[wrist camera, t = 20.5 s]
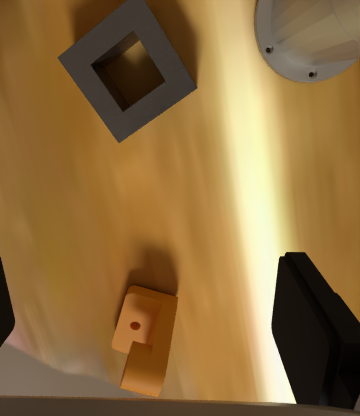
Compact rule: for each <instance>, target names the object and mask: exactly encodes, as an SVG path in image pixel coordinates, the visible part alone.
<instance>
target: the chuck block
mask: <svg viewBox="0 0 360 416" xmlns="http://www.w3.org/2000/svg"><path fill="white" fill-rule="evenodd" d="M139 40H140V41H141V43H142V44H143V46H144V47H145V49H146V51H147V52H148V54H149V55H150V57H151V59H152V60H153V62H154V63H155V65H156V67H157V68H158V70H159V71H160V73H161V75H162V76H163V78H164V79H165V82H164V83H162V84H161V85H160V86H158V87H157V88H156V89H154V90H153V91H151V92H150V93H149V94H147V95H146V96H145V97H143V98H142V99H140V100H139V101H138V102H136V103H135V104H134V105H132V106H131V107H130V106H129V105H128V103H127V102H126V100H125V99H124V97H123V96H122V94H121V93H120V92H119V90H118V89H117V87H116V86H115V84H114V83H113V81H112V80H111V78H110V77H109V75H108V74H107V72H106V71H105V69H104V68H105V67H106V66H107V65H108V64H110V63H111V62H112V61H113V60H115V59H116V58H117V57H119V56H120V55H121V54H122V53H124V52H125V51H126V50H128V49H129V48H130V47H131V46H133V45H134V44H135V43H137V42H138V41H139ZM58 59H59V60H60V62H61V63H62V65H63V66H64V67H65V69H66V70H67V72H68V73H69V74H70V76H71V77H72V79H73V80H74V81H75V83H76V84H77V86H78V87H79V88H80V90H81V91H82V93H83V94H84V95H85V97H86V98H87V100H88V101H89V102H90V104H91V105H92V106H93V108H94V109H95V111H96V112H97V113H98V115H99V116H100V118H101V119H102V120H103V122H104V123H105V125H106V126H107V127H108V129H109V130H110V132H111V133H112V134H113V136H114V137H115V139H116V140H117V141H118V143H120V142H121V141H123V140H124V139H126V138H127V137H128V136H130V135H131V134H133V133H134V132H136V131H137V130H138V129H140V128H141V127H143V126H144V125H146V124H147V123H148V122H150V121H151V120H153V119H154V118H156V117H157V116H158V115H160V114H161V113H163V112H164V111H166V110H167V109H168V108H170V107H171V106H173V105H174V104H176V103H177V102H178V101H180V100H181V99H183V98H184V97H185V96H187V95H188V94H190V93H191V92H193V91H194V90H195V89H197V86H196V85H195V83H194V81H193V80H192V78H191V76H190V75H189V73H188V71H187V70H186V68H185V66H184V65H183V63H182V61H181V60H180V58H179V56H178V55H177V53H176V51H175V50H174V48H173V46H172V45H171V43H170V42H169V40H168V38H167V37H166V35H165V33H164V32H163V30H162V28H161V27H160V25H159V23H158V22H157V20H156V18H155V17H154V15H153V13H152V12H151V10H150V8H149V7H148V5H147V3H146V2H145V0H127V1H125V2H124V3H123V4H122V5H121V6H119V7H118V8H117V9H116V10H115V11H113V12H112V13H111V14H110V15H109V16H107V17H106V18H105V19H104V20H102V21H101V22H100V23H99V24H98V25H96V26H95V27H94V28H93V29H92V30H90V31H89V32H88V33H87V34H86V35H84V36H83V37H82V38H81V39H79V40H78V41H77V42H76V43H75V44H73V45H72V46H71V47H70V48H69V49H67V50H66V51H65V52H64V53H63V54H61V55H60V56H59V57H58Z"/></svg>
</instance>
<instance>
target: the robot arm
mask: <svg viewBox="0 0 360 416" xmlns="http://www.w3.org/2000/svg"><path fill="white" fill-rule="evenodd" d="M254 31H255V38H256V42H257V46H258V49H259V51H260V53H261V55H262V57H263V59H264V60H265V62H266V63H267V64H268V66H269V67H270V68H271V69H273V70H274V71H275V72H276V73H277V74H279V75H281V76H282V77H284V78H286V79H289V80H292V81H296V82H306V83H309V82H318V81H322V80H326V79H329V78H331V77H334V76H336V75H338V74H340V73H341V72H343V71H344V70H346V69H347V68H349V67H350V66H351V65H352V64H353V63H354V62H355V61H356V60H358V58H360V0H258V2H257V5H256V9H255V18H254ZM267 48H269V49H270V52H269V53H267V52H266V49H267ZM310 72H311V73H312V76H311V77H309V73H310ZM14 325H15V317H14V313H13V309H12V304H11V300H10V296H9V291H8V287H7V283H6V278H5V274H4V270H3V265H2V261H1V257H0V347H1V345H2V344H3V343H4V341H5V340H6V339H7V337H8V336H9V335H10V333H11V332H12V330H13V328H14ZM271 325H272V334H273V337H274V340H275V343H276V346H277V348H278V351H279V354H280V357H281V360H282V363H283V366H284V369H285V372H286V374H287V377H288V380H289V383H290V386H291V389H292V392H293V395H294V397H295V400H296V403H297V404H290V403H275V402H244V401H216V400H179V399H143V398H102V397H101V398H100V397H57V396H55V397H54V396H6V395H3V396H2V395H0V416H360V322H359V321H358V320H357V318H356V317H355V316H354V314H353V313H352V312H351V310H350V309H349V308H348V306H347V305H346V304H345V302H344V301H343V300H342V298H341V297H340V296H339V295H338V294H337V293H334V291H333V290H332V289H331V287H330V286H329V284H328V283H327V282H326V280H325V279H324V278H323V276H322V275H321V273H320V272H319V271H318V269H317V268H316V267H315V265H314V264H313V263H312V261H311V260H310V258H309V257H308V256H307V254H306V253H305V252H286V253H285V256H280V258H279V263H278V271H277V280H276V289H275V297H274V306H273V315H272V324H271Z"/></svg>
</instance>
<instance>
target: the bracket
mask: <svg viewBox="0 0 360 416" xmlns="http://www.w3.org/2000/svg"><path fill="white" fill-rule="evenodd" d="M177 300H178V297H175V296H172V295H168V294H165V293H161V292H157V291H154V290H150V289H147V288H143V287H139V286H136V285H133V286H130V287H129V288H128V291H127V294H126V297H125V300H124V304H123V307H122V311H121V314H120V317H119V321H118V324H117V328H116V331H115V335H114V338H113V341H112V347H113V349H115V350H117V351H121V352H125V353H128V357H127V361H126V364H125V368H124V372H123V375H122V379H121V384H120V388H123V389H127V390H131V391H135V392H139V393H143V394H147V395H151V396H154V397H158V396H159V394H160V391H161V389H162V385H163V382H164V378H165V374H166V369H167V363H168V357H169V351H170V345H171V339H172V333H173V327H174V321H175V315H176V309H177Z"/></svg>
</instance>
